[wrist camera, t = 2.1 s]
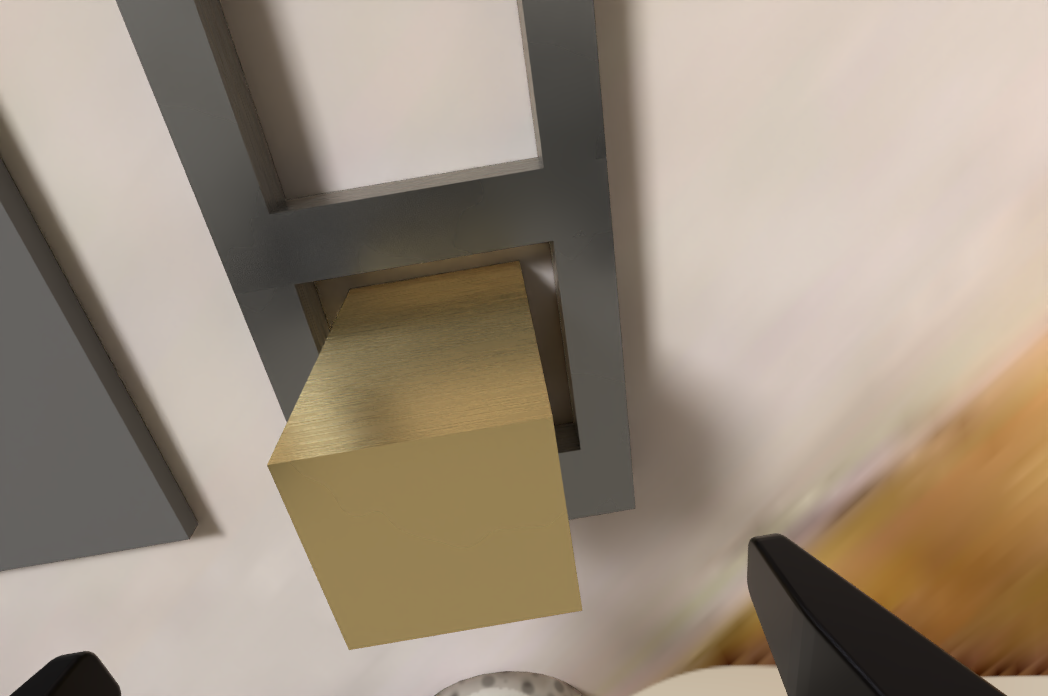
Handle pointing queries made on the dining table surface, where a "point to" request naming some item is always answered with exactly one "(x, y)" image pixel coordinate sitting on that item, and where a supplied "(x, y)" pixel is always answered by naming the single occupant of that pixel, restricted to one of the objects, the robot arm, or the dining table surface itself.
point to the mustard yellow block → (430, 462)
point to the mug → (510, 685)
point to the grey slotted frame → (410, 216)
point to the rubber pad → (68, 421)
